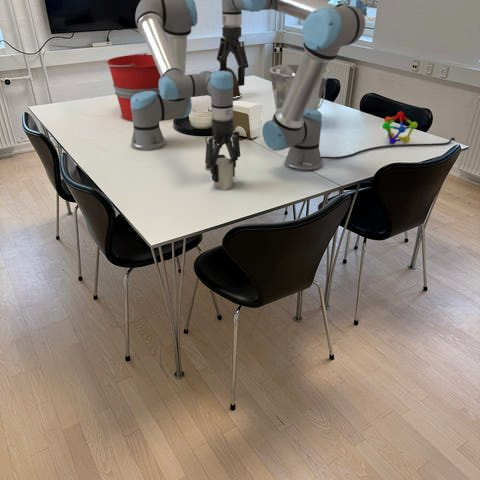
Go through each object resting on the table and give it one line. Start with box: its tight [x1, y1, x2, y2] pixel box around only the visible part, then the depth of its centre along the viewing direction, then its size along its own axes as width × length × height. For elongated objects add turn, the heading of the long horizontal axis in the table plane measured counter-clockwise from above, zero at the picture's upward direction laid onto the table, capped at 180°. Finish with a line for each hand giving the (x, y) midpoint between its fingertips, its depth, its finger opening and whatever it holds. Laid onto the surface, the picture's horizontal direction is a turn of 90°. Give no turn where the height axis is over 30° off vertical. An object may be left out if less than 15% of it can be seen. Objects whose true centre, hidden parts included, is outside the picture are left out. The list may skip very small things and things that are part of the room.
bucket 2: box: [269, 63, 330, 111], centre depth 226 cm, size 30×30×28 cm
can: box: [213, 157, 234, 191], centre depth 167 cm, size 7×7×10 cm
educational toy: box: [382, 110, 418, 145], centre depth 207 cm, size 16×13×15 cm
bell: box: [217, 58, 242, 97], centre depth 278 cm, size 19×26×20 cm
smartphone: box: [205, 154, 226, 170], centre depth 188 cm, size 7×1×15 cm
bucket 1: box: [103, 52, 161, 122], centre depth 240 cm, size 35×35×30 cm
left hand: (223, 178), depth 168 cm, fingers closed on can, 7 cm apart
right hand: (232, 82), depth 184 cm, fingers open, 13 cm apart
